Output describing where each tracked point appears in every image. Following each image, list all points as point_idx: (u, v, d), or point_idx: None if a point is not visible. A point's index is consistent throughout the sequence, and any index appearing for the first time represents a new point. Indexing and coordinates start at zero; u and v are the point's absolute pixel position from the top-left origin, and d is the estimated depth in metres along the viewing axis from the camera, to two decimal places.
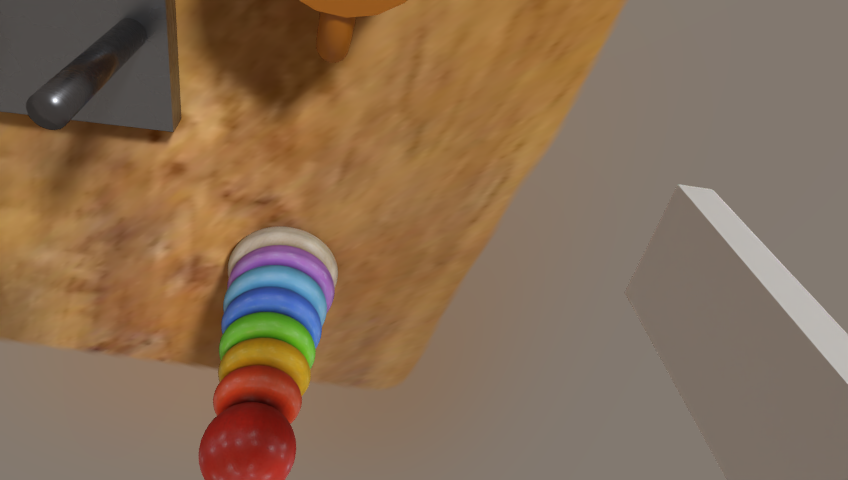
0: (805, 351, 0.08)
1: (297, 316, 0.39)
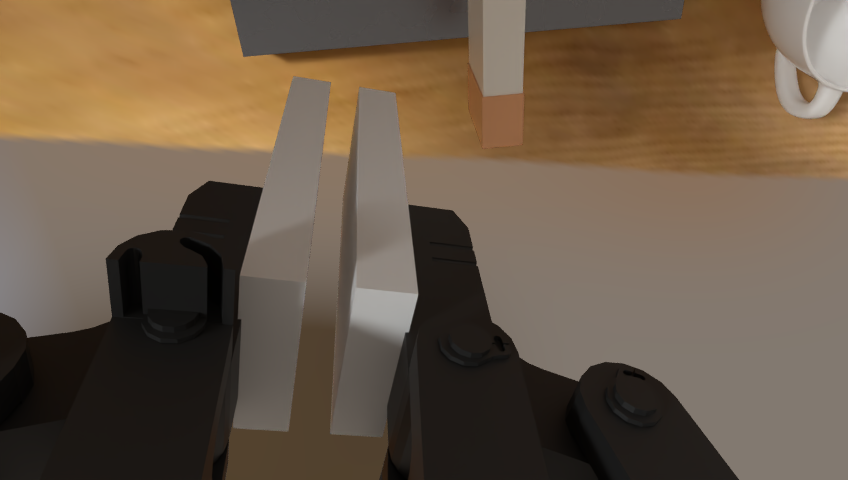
0: (356, 202, 0.09)
1: None
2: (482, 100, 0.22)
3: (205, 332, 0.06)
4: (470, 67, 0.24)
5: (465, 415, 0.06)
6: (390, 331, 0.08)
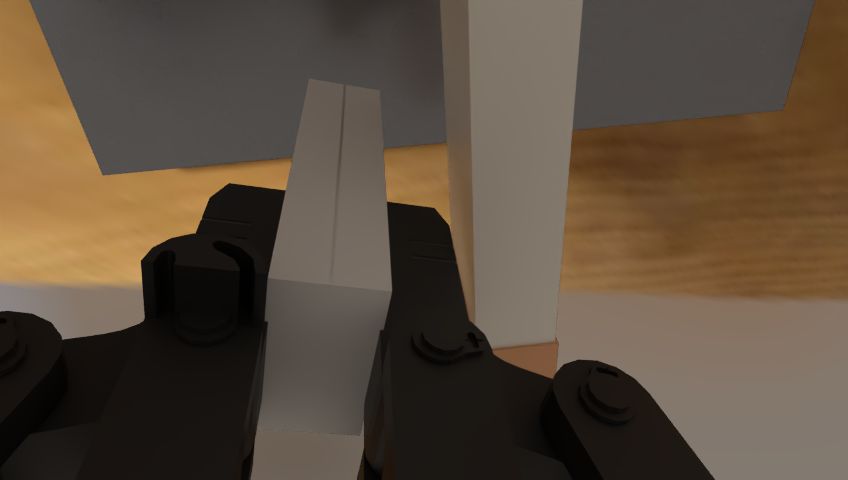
0: None
1: None
2: None
3: (235, 335, 0.06)
4: None
5: (438, 413, 0.06)
6: (364, 328, 0.08)
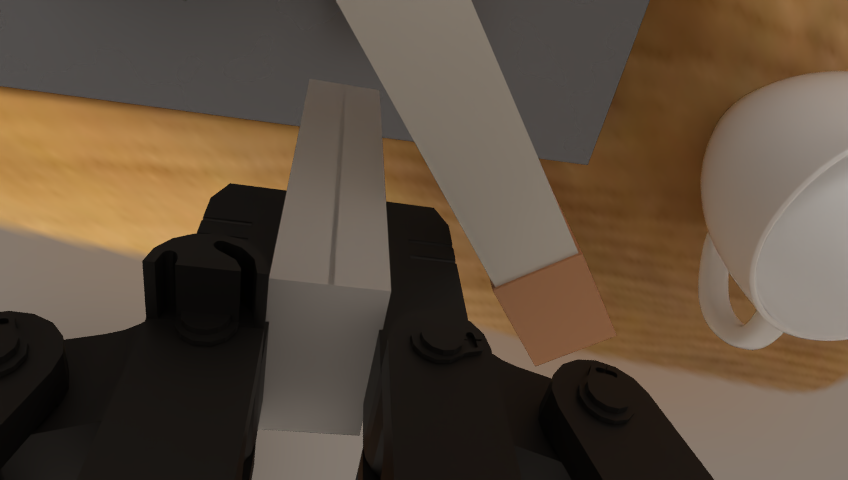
0: None
1: None
2: (496, 293, 0.10)
3: (237, 335, 0.06)
4: None
5: (437, 413, 0.06)
6: (364, 329, 0.08)
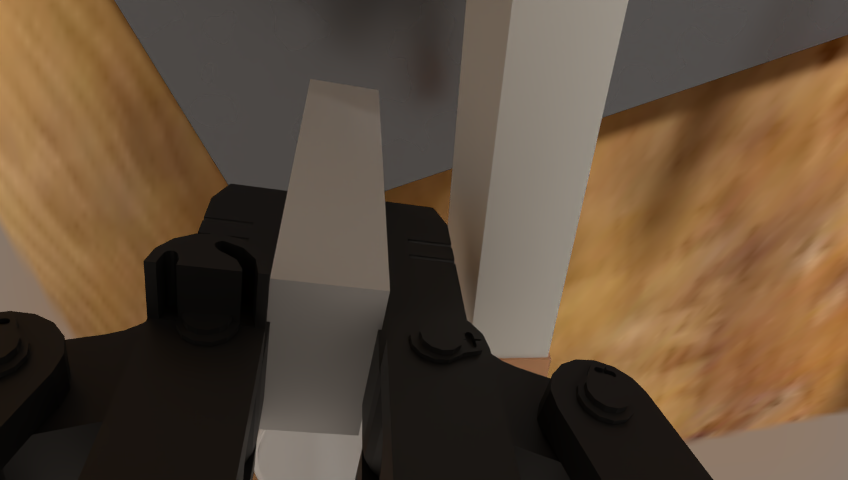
0: None
1: None
2: None
3: (238, 336, 0.06)
4: None
5: (436, 413, 0.06)
6: (362, 328, 0.08)
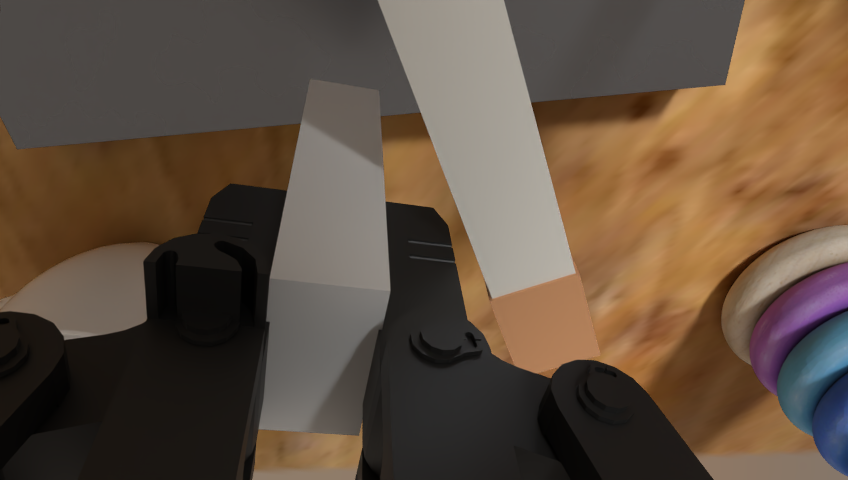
0: None
1: None
2: (492, 304, 0.10)
3: (238, 335, 0.06)
4: None
5: (436, 413, 0.06)
6: (363, 328, 0.08)
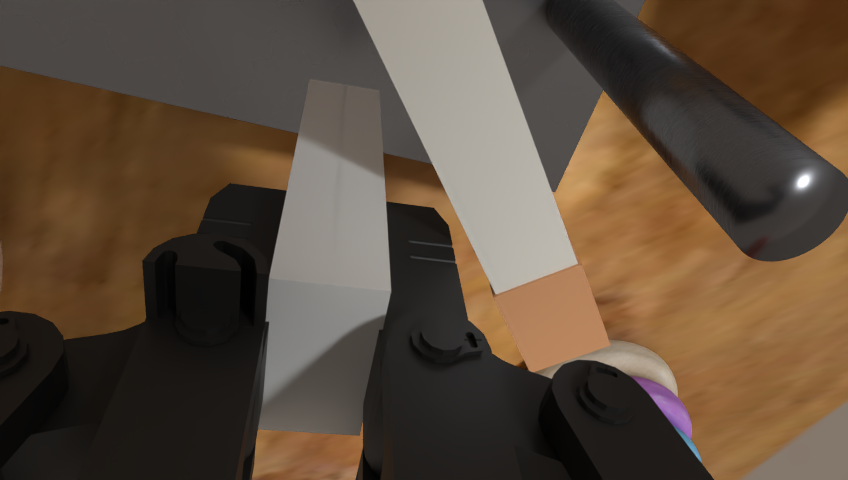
0: None
1: None
2: (496, 300, 0.10)
3: (237, 335, 0.06)
4: None
5: (437, 413, 0.06)
6: (364, 328, 0.08)
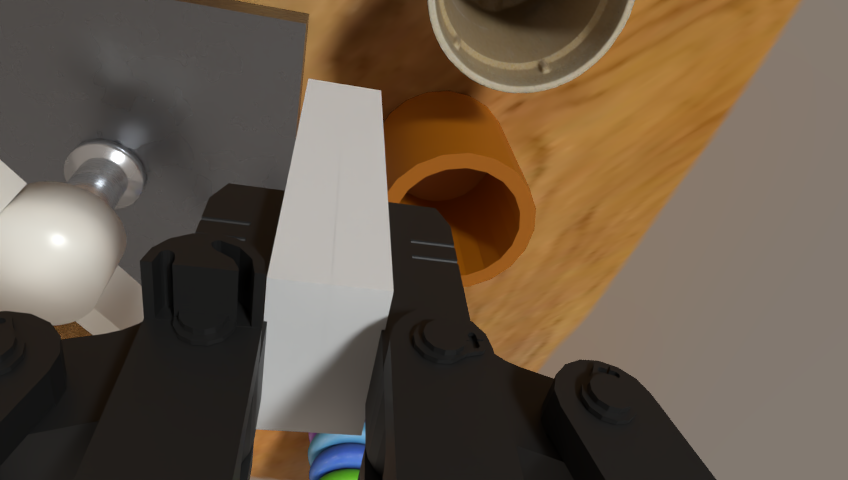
0: None
1: None
2: None
3: (234, 335, 0.06)
4: None
5: (439, 414, 0.06)
6: (366, 328, 0.08)
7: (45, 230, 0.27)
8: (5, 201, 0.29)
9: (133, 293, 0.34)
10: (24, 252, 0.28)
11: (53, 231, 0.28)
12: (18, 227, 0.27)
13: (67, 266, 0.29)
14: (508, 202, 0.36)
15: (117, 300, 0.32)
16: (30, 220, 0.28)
